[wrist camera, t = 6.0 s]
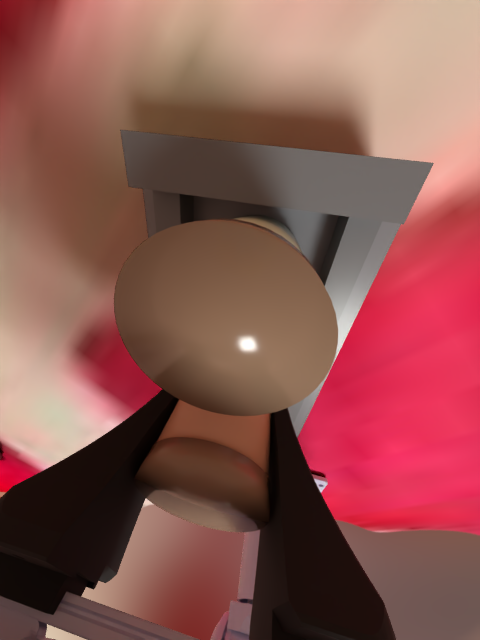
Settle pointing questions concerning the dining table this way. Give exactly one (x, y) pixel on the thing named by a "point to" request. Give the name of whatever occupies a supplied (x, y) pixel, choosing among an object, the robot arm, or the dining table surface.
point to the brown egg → (227, 315)
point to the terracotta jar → (210, 469)
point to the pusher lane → (284, 205)
